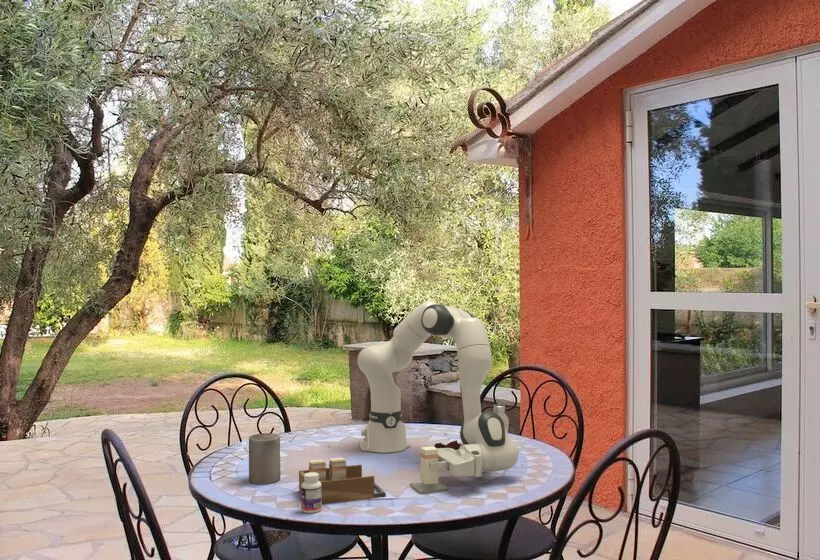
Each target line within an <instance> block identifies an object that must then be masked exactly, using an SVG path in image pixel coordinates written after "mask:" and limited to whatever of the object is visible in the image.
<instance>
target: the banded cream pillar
mask: <svg viewBox="0 0 820 560" xmlns="http://www.w3.org/2000/svg"><path fill="white" fill-rule="evenodd" d="M419 454H420V455H419V456H420V482H423V483H425V484H433V483H438V481H439V469H431V468H429V463H430V462H438V449H437V448H435V447H434V446H423V447H420V453H419Z"/></svg>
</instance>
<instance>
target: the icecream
mask: <svg viewBox="0 0 820 560" xmlns="http://www.w3.org/2000/svg"><path fill="white" fill-rule="evenodd" d="M461 445H464V444H463V443H460V442H458V440H452V441H450V442H448V443H447V444H444V443H442V442H437V443H434V446H433V447H435V448H452V449H454V450H459V448H460V446H461Z"/></svg>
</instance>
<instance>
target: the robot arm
mask: <svg viewBox="0 0 820 560" xmlns="http://www.w3.org/2000/svg"><path fill="white" fill-rule="evenodd" d="M392 335H393V336H392V338H391V339H390V340H389V341H387V342H385V343H380V344H379V343H378V344H372V345H369V346H367V347H365V348H363V349H362V350H361V351H359V353H358V355H357V366H358V368H359V370H360V371H361V372H362V373H363V374H364V375H365V376H366V379H367V382H368V385H369V391H370V411H369V414H368V416H369V418H368V419H369V421H368V422H367V424H366V425H365V427H364V429H362V430H360V431H361V434H360V436H361V437H363V438H360V439H358V444H359V447H360V450H361V451H362V452H372V453H380V454H381V453H387V454H388V453H396V452H397V453H398V452H401V451H404V450H406V449H407V448H410V447H411V443H410V442H407V427H406V424H405V423H404V422H402V420H403V410H402V409H401V407H402V406H401V405H402V403H401V398H402V397H401V391H402V390H401V388H400V387H399V386H398V385H397V384H396V382H395V380H394V376H393V373H396V372H400V371H403V370H404V369H406V368H408V367H409V366H410V364H411V363H412V361H413V355H414V353H415V352H416V351H417V350H418V349H419V348H420V346H422V345H423V343H425V342H426V341H427V340H428V339H429V338H430V337H431V336H432V335H433V336H437V337H439V338H444V339H449V340H454V341H455V347H456V353H457V360H458V368H459V369H458V370H459V387H460V388H459V389H460V399H461V412H462V413H461V414H462V422H461V425H460V426H461V427H460V430H459V431H460V432H459V438H460V440H461V441H460V442H461V444H463V445H461V446H460V448H459V450H454V449H452V448H437V449H438V462H430V463H429V468H431V469H438V470H445V471H446V472H448V473H449V474H451V475H452V476H454V477H476V478H478V477H479V478H480V477H481V476H482V473H483V472H498V471H499V472H500V471H505V470H509V469H511V468H513V467H514V466H515V465H516V463H517V462H518V460H519V447H518V445H517V443H516V442H515V441H514V440H513V439H512V438H511V437H510V435H509V432H508V433H507V431H506V429H505V425H504V422H503V420H502V418H501V417H500V416H499V415H498V414H497V413H495V412H494V411H493V410H488V411H484V412H482V407H481V406H482V403H481V388H482V386H483V383H484V381H485V379H486V377H487V375H488V374H489V373H490V370H491V369H492V362H493V356H492V350H491V345H490V340H489V336H488V333H487V330H486V327H485V324H484V323H483V321H482V320H481V319H480V318H478V317H476V316H475V315H474V314H472V313H471V312H469V311H467V310H463V309H461V308H458V307H455V306H450V305H449V306H448V305H443V304H439V303H437V302H435V301H433V300H426V301H424V302H422V303H421V304H419V305H418V306H416V307H415V308H414V309H413V310H412V311H411V312H410V313H409V314H407V316H406V317H404V318H403V319H402V321H400V322H399V323H398V324H397V325H396V327H394V329H393V333H392Z"/></svg>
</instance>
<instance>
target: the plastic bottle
mask: <svg viewBox="0 0 820 560" xmlns="http://www.w3.org/2000/svg"><path fill="white" fill-rule="evenodd" d="M505 408H506V406H505V404H498V403H497V404H493V410H492V412H495V413H497V414H498V415H499V416H500V417H501V418H502V420H503V422H504V425H505V429H506V431H507V433H508V434H509V427H510V426H509V424H510V420H509V417H508V416H507V414H506V413H505V411H506V409H505Z"/></svg>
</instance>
